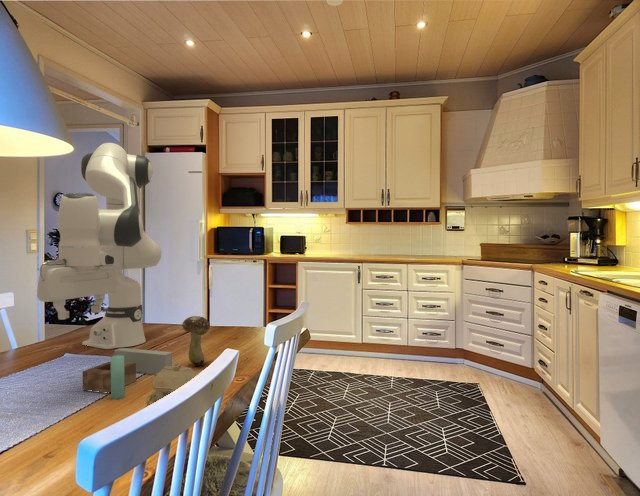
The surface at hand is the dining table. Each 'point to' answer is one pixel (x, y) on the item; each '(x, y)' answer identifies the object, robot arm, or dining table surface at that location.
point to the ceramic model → (169, 381)
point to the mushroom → (196, 337)
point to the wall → (146, 359)
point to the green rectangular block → (117, 377)
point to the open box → (106, 376)
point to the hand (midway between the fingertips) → (80, 315)
